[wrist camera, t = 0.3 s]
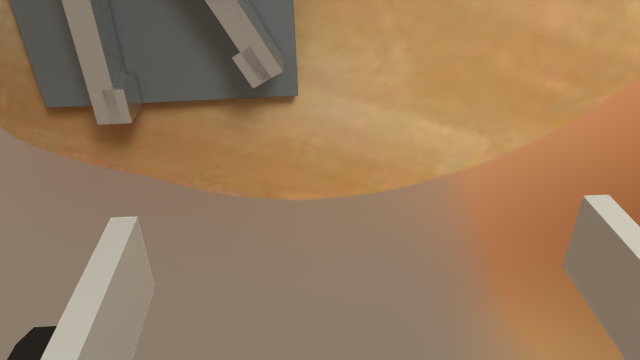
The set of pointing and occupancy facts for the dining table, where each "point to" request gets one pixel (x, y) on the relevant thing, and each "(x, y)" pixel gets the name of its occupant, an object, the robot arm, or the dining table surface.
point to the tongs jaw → (248, 40)
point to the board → (157, 50)
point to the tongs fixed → (102, 62)
